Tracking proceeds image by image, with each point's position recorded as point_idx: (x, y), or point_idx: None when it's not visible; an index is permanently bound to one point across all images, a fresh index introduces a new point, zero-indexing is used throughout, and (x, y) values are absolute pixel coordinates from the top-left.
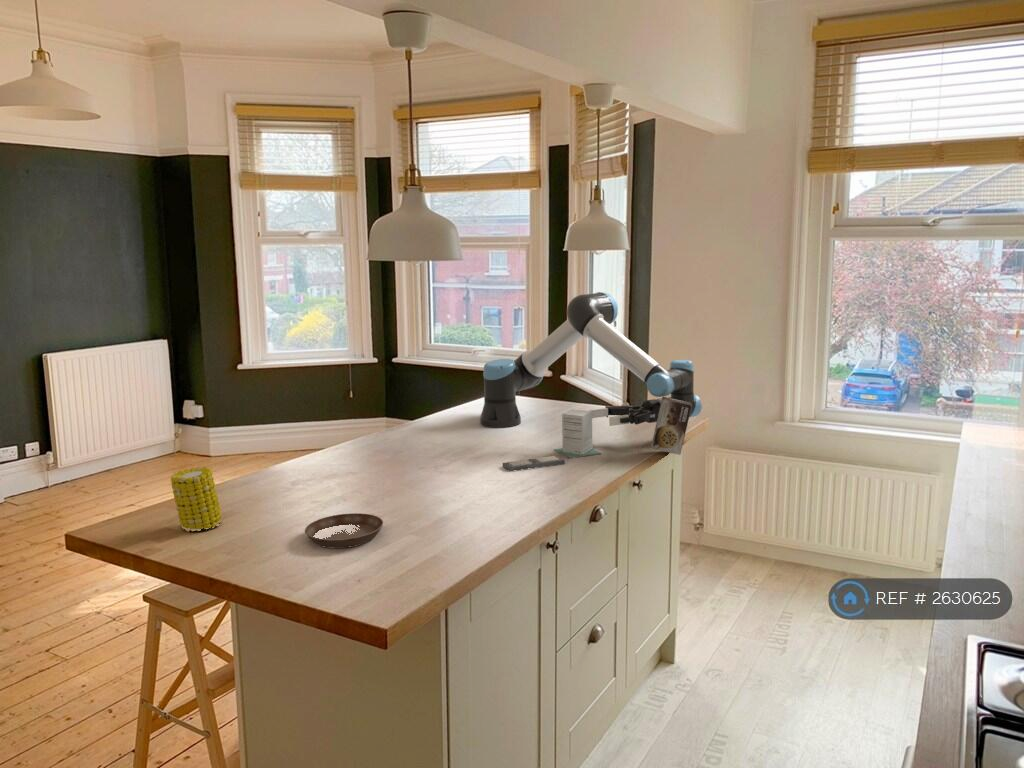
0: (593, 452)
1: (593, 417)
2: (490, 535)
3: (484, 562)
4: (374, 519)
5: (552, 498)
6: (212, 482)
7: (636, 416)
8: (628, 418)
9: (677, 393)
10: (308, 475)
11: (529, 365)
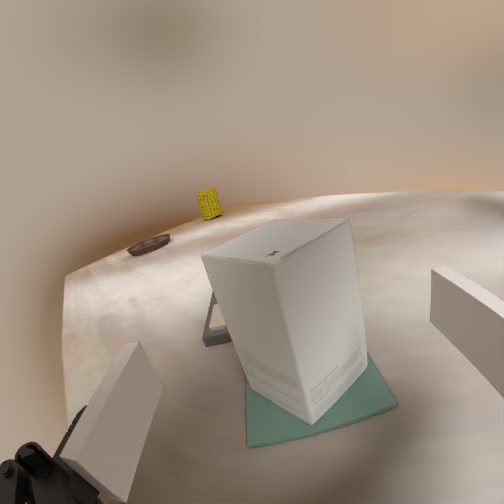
0: (267, 423)
1: (441, 329)
2: (83, 289)
3: (64, 289)
4: (149, 247)
5: (90, 318)
6: (204, 196)
7: (2, 463)
8: (60, 449)
9: None
10: (293, 207)
11: None
